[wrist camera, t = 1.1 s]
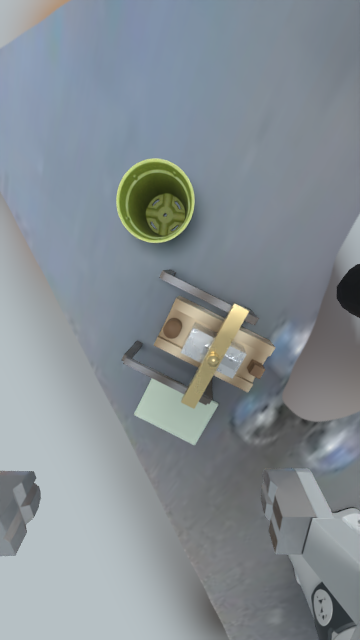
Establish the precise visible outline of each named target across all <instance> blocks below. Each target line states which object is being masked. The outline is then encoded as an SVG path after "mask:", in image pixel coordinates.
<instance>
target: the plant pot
mask: <svg viewBox="0 0 360 640" xmlns="http://www.w3.org/2000/svg"><path fill="white" fill-rule="evenodd" d="M157 199H159V200H160V201H159V202H157V203H156V204H155V205H154V206H152V204H153V203H154V202H155V201H156V200H157ZM175 201H176V202H178V204H179V205H180V207H181V209H179V208H178V206H177V205H176V204H175ZM116 202H117V211H118V214H119V217H120V219H121V222H122V223H123V225H124V226H125V228H126V229H127V230H128V231H129V232H130V233H131V234H132V235H133V236H135V237H136V238H138V239H140V240H143V241H145V242H150V243H162V242H166V241H169V240H171V239H173V238H175V237H176V236H178V235H179V234H180V233H181V232H182V231H183V230H184V229H185V228H186V227H187V225H188V224H189V222H190V220H191V218H192V215H193V211H194V204H195V197H194V191H193V187H192V185H191V182H190V180H189V178H188V177H187V175H186V174H185V173H184V172H183V171H182V170H181V169H180V168H179V167H178V166H176V165H175V164H173V163H171V162H169V161H167V160H163V159H147V160H143V161H141V162H139V163H137V164H135V165H134V166H133V167H131V168H130V169H129V170H128V171H127V172H126V174H125V175H124V176H123V178H122V180H121V182H120V184H119V187H118V191H117V199H116ZM164 213H166V214H167V216H166V217H164V216H163V215H164ZM151 221H152V222H153V224H154V225H155V227H156V228H157V229H155V228H154V227H153V226H152V225H151ZM177 225H178V227H177V228H176V229H175V230H174V231H171V229H173V228H175V227H176V226H177Z"/></svg>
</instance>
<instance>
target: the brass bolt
mask: <svg viewBox="0 0 360 640" xmlns="http://www.w3.org/2000/svg"><path fill="white" fill-rule="evenodd" d="M248 313H249V310H248V309H246V308H244V307H242V306H240V305H238V304H236V303H233V305H232V306H231V308H230V310H229V312H228V314H227V316H226V318H225V319H224V321H223V323H222V325H221V327H220V329H219V330H218V332H217V334H216V336H215V338H214V340H213V342H212V343H211V345H210V347H209V349H208V351H207V353H206V355H205V356H204V358H203V360H202V362H201V364H200V366H199V367H198V369H197V371H196V373H195V375H194V377H193V379H192V380H191V382H190V384H189V386H188V388H187V390H186V391H185V393H184V395H183V397H182V400H181V403H183V404H185V405H187V406H189V407H191V408H193V409H195V407H196V405H197V403H198V402H199V400H200V398H201V396H202V395H203V393H204V391H205V389H206V387H207V386H208V384H209V382H210V380H211V378H212V377H213V375H214V373H215V371H216V370H217V368H218V366H219V364H220V362H221V361H222V359H223V357H224V355H225V354H226V352H227V350H228V348H229V346H230V345H231V343H232V341H233V339H234V337H235V336H236V334H237V332H238V330H239V329H240V327H241V325H242V323H243V321H244V320H245V318H246V316H247V314H248Z"/></svg>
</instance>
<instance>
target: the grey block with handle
mask: <svg viewBox="0 0 360 640" xmlns="http://www.w3.org/2000/svg"><path fill="white" fill-rule="evenodd" d="M216 334H217V332H215V331H213V330H211V329H209V328H207V327H205V326H203V325H201V324H199V323H197V322H195V323H194V325H193V326H192V328H191V330H190V332H189V334H188V336H187V338H186V340H185V342H184V344H183V347H182V350H181V353H182V354H184V355H186V356H188V357H190V358H192V359H194V360H196V361H198V362H200V363H201V362H202V360H203V358H204V356H205V355H206V353H207V351H208V349H209V347H210V345H211V343H212V342H213V340H214V338H215V336H216ZM246 355H247V354H246V351H245V349H244V346H243V345H241V344H239V343H237V342H235V341H232V343H231V345H230V346H229V348H228V350H227V352H226V354H225V355H224V357H223V359H222V361H221V362H220V364H219V366H218V368H217V370H216V371H218V372H220V373H222V374H224V375H226V376H228V377H230V378H232V379H233V377H234V375H235V374H236V372H237V370H238V368H239V367H240V365H241V363H242V362H243V360H244V358H245V356H246Z"/></svg>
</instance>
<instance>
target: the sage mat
mask: <svg viewBox="0 0 360 640" xmlns="http://www.w3.org/2000/svg"><path fill="white" fill-rule="evenodd" d="M183 395H184V394H182V393H180V392H178V391H176V390H174V389H172V388H170V387H168V386H166V385H164V384H162V383H160V382H158V381H156V380H154V379H153V378H152V379H151V381H150V383H149V385H148V387H147V389H146V391H145V393H144V395H143V397H142V399H141V401H140V403H139V405H138V407H137V409H136V411H135V413H134V415H135V416H137V417H139V418H141V419H143V420H145V421H147V422H149V423H151V424H153V425H155V426H157V427H159V428H161V429H163V430H165V431H167V432H169V433H171V434H173V435H175V436H177V437H179V438H181V439H183V440H185V441H187V442H189V443H191V444H193V445H195V444H196V442H197V441H198V439H199V437H200V435H201V434H202V432H203V430H204V429H205V427H206V425H207V424H208V422H209V420H210V418H211V417H212V415H213V413H214V412H215V410H216V408H217V406H218V405H219V404H218V403H217V402H215V401H213V400H212V401H211V402H210V404H207V405H204V404H202V403H200V402H198V403H197V405H196V407H195V409H193V408H191V407H189V406H187V405H185V404H183V403H181V400H182V397H183Z"/></svg>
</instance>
